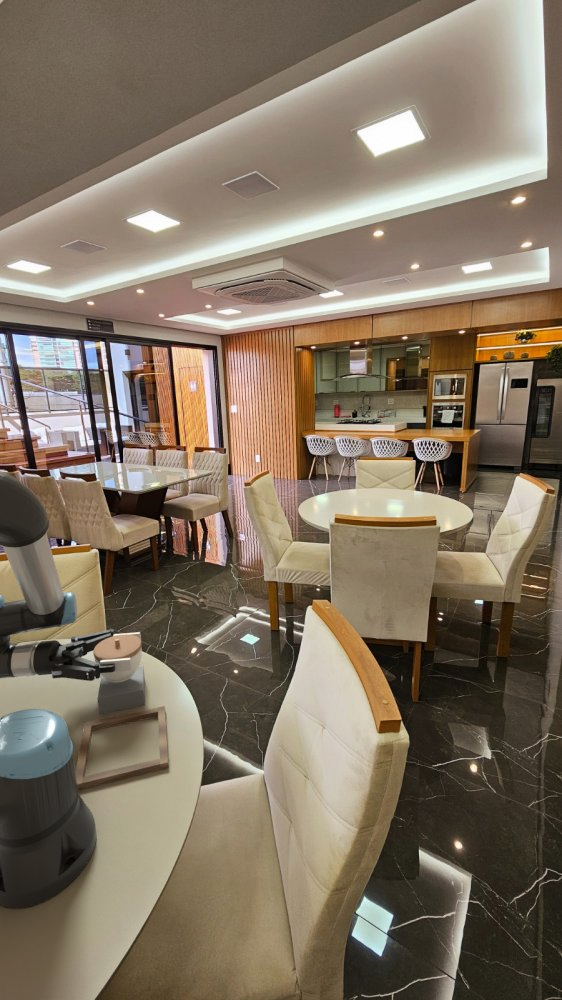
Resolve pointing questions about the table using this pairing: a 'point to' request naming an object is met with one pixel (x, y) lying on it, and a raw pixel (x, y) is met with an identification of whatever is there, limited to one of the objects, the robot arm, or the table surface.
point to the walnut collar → (128, 770)
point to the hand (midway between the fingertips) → (136, 650)
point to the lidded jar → (119, 654)
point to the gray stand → (122, 693)
